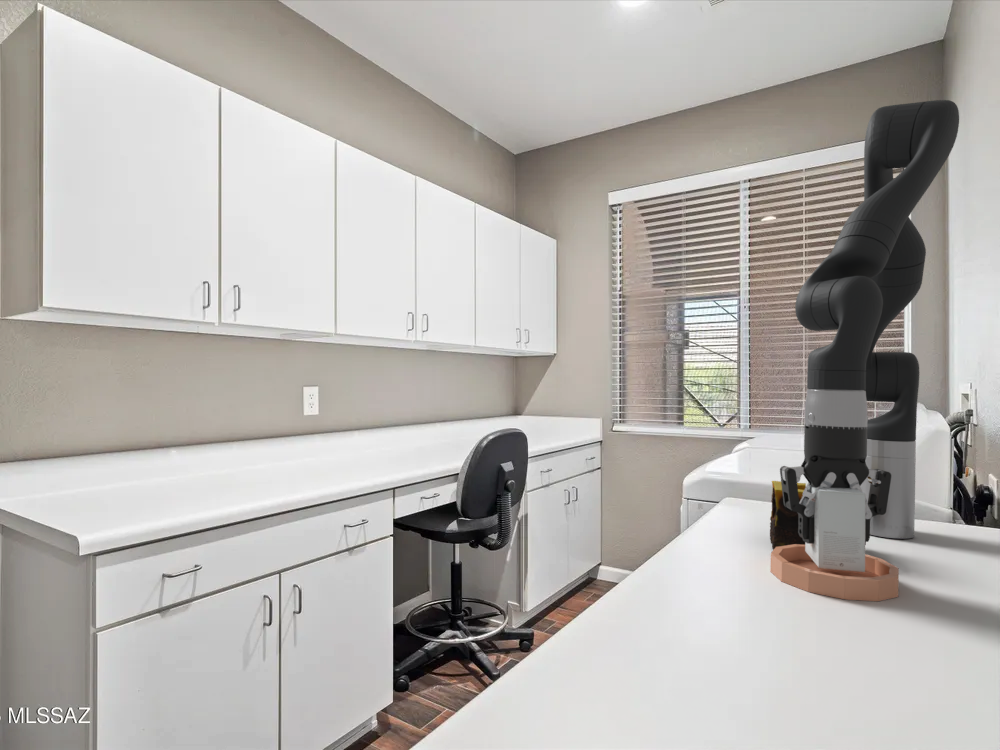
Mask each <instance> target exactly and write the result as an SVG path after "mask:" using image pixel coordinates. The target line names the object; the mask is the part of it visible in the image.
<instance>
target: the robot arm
mask: <svg viewBox="0 0 1000 750" xmlns="http://www.w3.org/2000/svg"><path fill="white" fill-rule="evenodd" d="M959 124H960V111H959V108H958V105H957V104H956V102H954V101H952V100H949V99H947V100H946V99H936V100H926V101H918V102H909V103H899V104H892V105H886V106H881V107H878V108H877V109H876V110H875V111H873V113H872V114H871V116H870V118H869V120H868V124H867V127H866V130H865V131H866V132H865V137H864V151H863V152H864V155H863V183H864V185H863V188H864V189H863V201H862V203H860V204H859V205H858V206H857V207H856V208H855V209H854V210H853V211H852V212H851V214H850V215H849V216H848V218H847V219H846V221H845V223H844V224H843V227H842V229H841V231H840V232H839V235H838V237H837V239H836V241H835V244H834V246H833V248H832V250H831V252H830V253H829V254H828V255H827V256H826V257H825V258H824V259H823V260H822V262H821V263H820V264H819V265H818V266H817V267H816V268H815V270H813V272H812V273H811V274H810V275H809V277H808V278H806V279H807V280H805V282H804V283H803V285H802V286H801V288H800V289H799V292H798V293H797V297H796V300H795V305H794V307H795V309H794V310H795V315H796V319H797V321H798V322H799V324H800V325H801V326H802V327H803V328H805V329H807V330H809V331H815V332H823V331H824V332H826V331H836V330H837V331H836V334H835V336H834V338H833V340H832V342H831V343H830V344H828V345H825V346H821V347H818V348H816V349H815V348H814V350H811V351H810V353H809V354H808V357H807V358H808V359H807V375H806V376H807V379H806V382H807V383H806V384H807V385H806V389H807V390H806V397H805V403H804V432H803V433H804V434H803V435H804V436H803V437H804V439H803V455H804V459H803V462H802V463H801V465H800V466H790V467H789V466H786V465H781V467H780V468H779V474H780V482H781V485H782V493H783V502H784V506H785V507H787V508H789V509H791V510H792V511H794V512H797V513H798V516H799V517H798V533H799V536H800V537H802V539H803V541H804V542H806V543H808V544H814V524H815V518H814V517H812V515H813V513H814V511H815V501H816V491H815V492H814V493H813V494H812V493H811V486H812V488H813V487H815V488H817V489H823V488H825V489H829V488H850V489H857V490H860V491H862V492H863V493H865V494H866V497H865V546H866V544H867V542H868V543H869V540H870V538H871V536H875V537H882V538H887V539H889V538H890V539H912V538H913V539H914V537H915V525H916V524H915V519H916V517H915V515H916V450H917V449H916V446H917V445H916V444H917V442H916V441H917V417H918V416H917V415H918V414H917V410H918V397H919V396H918V395H919V389H920V388H919V387H920V364H919V359H918V358H917V356H916V355H915V354H914V353H912V352H909V351H908V352H903V351H880V352H879V351H874V349H875V347H876V344H877V343H878V340H879V339H880V337H881V335H882V334H883V332H884V331H885V330H886V329H887V328H888V326H889V325H890V323H891V324H892V322H893V320H894V319H896V317H897V316H899V315H900V314H901V313H902V311H903V310H904V309H906V307H908V305H909V304H910V303H911V302H912V301H913V299H914V298H915V297H916V295H918V293H919V291H920V289H921V287H922V284H923V278H924V268H925V263H926V256H927V255H926V254H927V251H926V250H927V249H926V245H925V241H924V239H923V237H922V235H921V234H920V231H918V229H917V227H916V226H915V224H914V223H913V221H912V219H910V215H911V213H912V212H913V211H914V209H915V207H916V206H917V204H918V203H919V202H920V201H921V199H922V198H923V197H924V195H925V194H926V191H927V190H928V189H929V187H930V186H931V185H932V183H933V182H934V179H936V178H937V177H936V176H938V174H939V172H940V170H941V169H942V167H943V166H944V165H945V164H946V161H947V160H948V158H949V157H950V155H951V153H952V150H953V148H954V145H955V143H956V140H957V137H958V132H959V127H960V125H959ZM894 169H903V170H902V171H901V172H900V173H899V174H898V175H896V176H895V178H894ZM868 402H876V403H878V402H879V403H880V402H881V403H893V404H894V405H893V407H892V408H891V409H890V410H889V411H888V412H886V413H883V414H882V415H879V416H876V417H874V418H869V416H868ZM802 476H803V477H804V479H806V481H808V484H807V486H806V488H805V490H804V491H803V497H802V499H801V500H800V502H799V496H798V487H797V483H800V481H801V477H802Z"/></svg>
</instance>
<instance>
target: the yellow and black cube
mask: <svg viewBox="0 0 1000 750" xmlns="http://www.w3.org/2000/svg"><path fill="white" fill-rule="evenodd" d="M771 485H772V491H771V514H770V518H769V520H770V523H769V527H770V529H769V539H770V544H771V549H772V551H773V550H774V549H775V547H779V546H786V545H793V544H800V545H805V542H804V541H803V539H802V537H800V536H799V533H798V517H799V516H798V513H797V512H794V511H792V510H791V509H789V508H787V507H785V506H784V502H783V493H782V485H781V480H780V481H778V480H772V481H771ZM797 487H798V496H799V502H800V500H801V499H802V497H803V491H804V490H805V488H806V482H798V483H797Z"/></svg>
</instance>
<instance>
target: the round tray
mask: <svg viewBox="0 0 1000 750" xmlns="http://www.w3.org/2000/svg"><path fill="white" fill-rule="evenodd" d="M899 569H900V568H899V567H898V566H896V565H894V564H891V562H888V561H887V560H885V559H883V558H881V557H878V556H873V555H870V554H868V553H867V554H866V553H865V572H856V571H846V570H835V569H824V568H819V567H818V566H817V565H816V564H815V562H814V561H813V560H812V559H811V558H810V556H809V555H808V554H807V553H806V551H805V545H800V544H793V545H786V546H779V547H775V549H774V550H773V549H772V551H771V553H770V569H769V570H770V573H771V574H772V575H773V576H775V577H776V578H777V579H778V580H779V581H781V582H783V583H784V584H787V585H790V586H792V587H795V588H798V589H801V590H803V591H805V592H808V593H813V594H816V595H822V596H827V597H831V598H836V599H842V600H849V601H850V600H851V601H867V602H869V601H870V602H881V601H885V600H891V599H894V598H899V579H900V578H899V577H900V576H899V575H900V574H899V573H900V570H899Z"/></svg>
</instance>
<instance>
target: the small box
mask: <svg viewBox="0 0 1000 750" xmlns="http://www.w3.org/2000/svg"><path fill="white" fill-rule="evenodd" d="M805 483H806V486H807V484H808V481H807V480H806V481H805ZM815 491H816V501H815V511H814V513H813V515H812V517H814V518H815V524H814V544H808V543H806V542H805V551H806V553H807V554H808V555H809V556H810V558H811V559H812V560H813V561H814V562H815V564H816V565H817V566H818V567H819V568H824V569H835V570H846V571H856V572H865V554H866V545H865V497H866V494H865V493H863V492H862V491H860V490H857V489H850V488H829V489H825V488H823V489H817V488H815V487H813V488H812V486H811V493H812V494H813V493H814V492H815Z"/></svg>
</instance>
